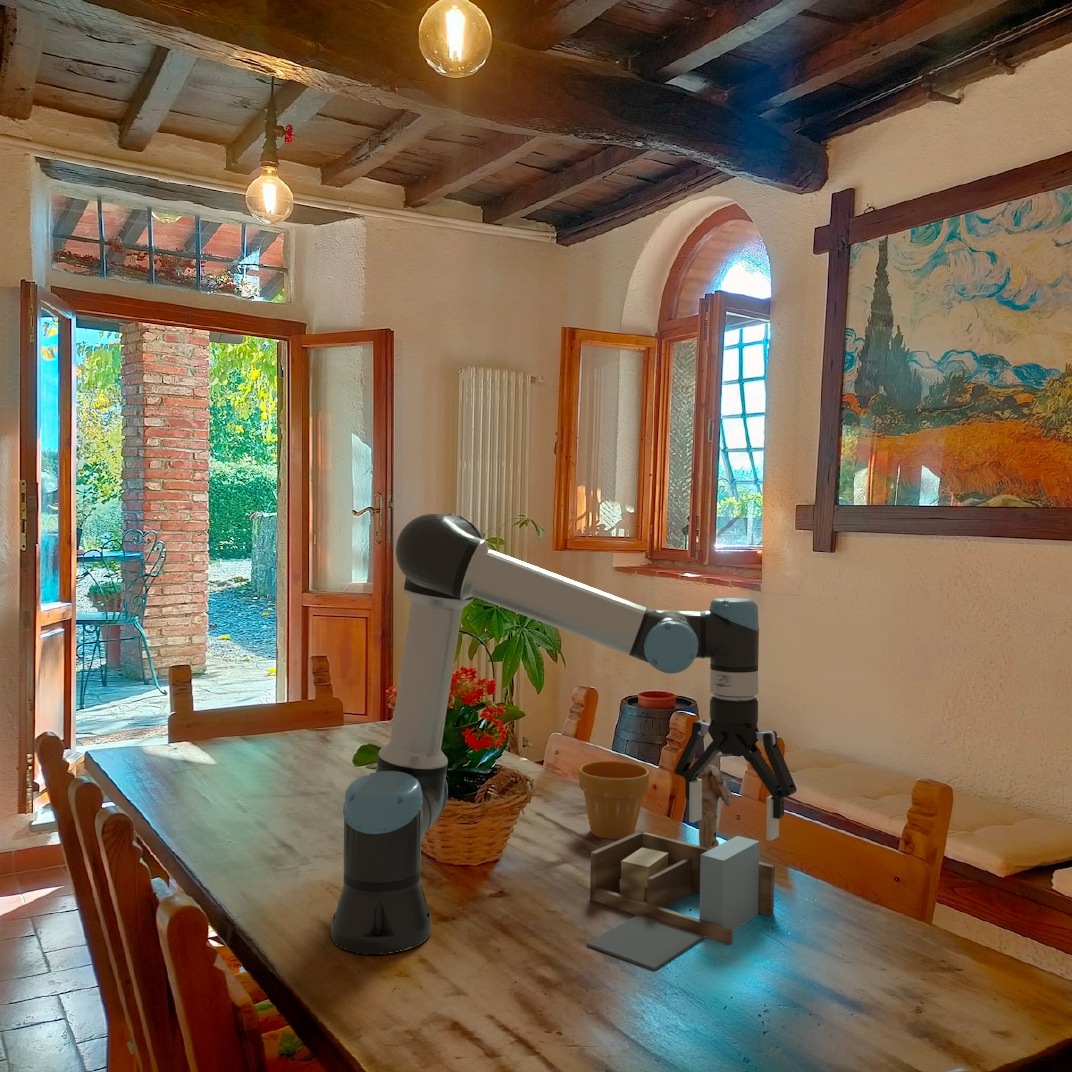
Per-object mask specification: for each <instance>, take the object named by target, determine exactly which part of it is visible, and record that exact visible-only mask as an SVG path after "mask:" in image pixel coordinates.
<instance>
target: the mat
mask: <svg viewBox="0 0 1072 1072" xmlns="http://www.w3.org/2000/svg"><path fill="white" fill-rule="evenodd" d="M704 939H705V937H704V936H703V935H700V934H697V933H694V932H691V931H688V930H685V929H682V928H679V927H676V926H672V925H669V924H666V923H663V922H660V921H657V920H654V919H651V918H648V917H645V916H642V915H639V914H638V915H636V914H635V916H633V917H631V918H629V919H628V920H625V921H624V922H622V923H620V924H618V925H617V926H615V927H613V928H611V929H609V930H608V931H606V932H604V933H602V934H600V935H599V936H596V937H595V938H593V939H591V940H589V941H587V942H586V947H588V948H591V947H594V948H596V949H595V950H597V949H598V950H597V951H600V952H602V951H603V952H602V953H605V954H608V955H611V956H613V955H614V957H616V958H619V959H621V960H624V961H627V962H630V963H632V964H636V965H639V966H641V967H644V968H646V969H649V970H652V971H656V970H658V969H659V968H661V967H663V966H664V965H666V964H667V963H668V962H670V961H672V960H673V959H675V958H677V957H678V956H679V955H681V954H682V953H684V952H685V951H687V950H689V949H691V948H692V947H693V946H695V945H696V944H698V943H699V942H700V941H702V940H704ZM594 948H593V949H594Z"/></svg>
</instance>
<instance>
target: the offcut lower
mask: <svg viewBox="0 0 1072 1072" xmlns="http://www.w3.org/2000/svg"><path fill="white" fill-rule="evenodd" d="M619 894H621V895H624V896H627V897H630V898H633V899H637V900H640V901H643V902H646V903H647V888H646V887H642V886H637V885H633V884H629V883H625V882H621V880H620V889H619Z"/></svg>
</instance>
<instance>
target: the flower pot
mask: <svg viewBox="0 0 1072 1072" xmlns="http://www.w3.org/2000/svg"><path fill="white" fill-rule="evenodd" d="M578 775H579V776H578V777H579V778H578V779H579V781H578V784H579V788H580V789H581V790H582V791H583V796H584V800H585V806H586V812H587V818H588V824H589V829H590V832H591V834H592V835H593V836H596V837H597V838H601V839H605V838H606V839H607V840H620V839H623V838H625V837H627V836H629V835H632V834H634V833H636V828H637V823H638V819H639V816H640V811H641V807H642V802H643V798H644V795H645V794H646V793H648V791H649V785H650V770H649V769H648V768H647V767H645V766H643V765H641V764H638V763H633V762H628V761H619V760H601V761H600V760H599V761H598V760H597V761H592V762H587V763H585V764H582V765H581V766H580V767H579V769H578ZM606 839H605V840H606Z"/></svg>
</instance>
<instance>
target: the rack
mask: <svg viewBox="0 0 1072 1072" xmlns="http://www.w3.org/2000/svg"><path fill="white" fill-rule="evenodd" d="M640 848H647V849H652V850H656V851H661V852H666V853H668V868H666V869H664V870H662V871H661V872H659V873H657V874H655V875H653V876H651V877H649V878H647V903H646V902H643V901H640V900H637V899H633V898H630V897H627V896H624V895H621V894H620V893H618V892H616V891H619V890H620V880H621V861H622V860H624V859H625V858H627V857H628V856H630V855H631V854H633V853H634V852H636V851H637V850H639V849H640ZM709 850H711V849H709V848H705V847H701V846H699V845H696V844H693V843H688V842H685V841H681V840H677V839H673V838H669V837H666V836H662V835H659V834H654V833H650V832H646V831H643V830H639V831H637V832H636V831H635V832H634V834H632V835H629V836H627V837H625V838H623V839H617V840H616V841H613V842H610V843H609V844H606V845H605V846H602V847H600V848H597V849H595V850H593V851H591V852H590V879H589V882H590V883H589V886H590V887H589V888H590V889H589V897H590V898H589V899H590V901H593V902H597V903H600V904H603V905H606V906H609V907H611V908H615V909H618V910H621V911H624V912H627V913H630V914H633V915H635V916H636V915H638V914H639V915H642V916H645V917H648V918H651V919H654V920H657V921H660V922H663V923H666V924H669V925H672V926H676V927H679V928H682V929H685V930H688V931H691V932H694V933H697V934H700V935H703V936H704V938H706V939H710V940H714V941H715V942H718V943H722V944H725V945H728V946H730V945H732V944H733V932H734V931H733V930H732V929H729V928H725V927H722V926H719V925H716V924H713V923H710V922H706V921H703V920H700V919H699V918H697V917H694V916H690V915H687V914H683V913H681V912H678V911H675V910H670V909H668V907H670V906H672V905H674V904H675V903H677V902H679V901H680V900H682V899H684V898H686V897H687V896H689V895H691V894H695V895H698V896H700V862H701V854H703V853H705V852H707V851H709ZM775 868H776V867H775V865H773V864H770V863H765V862H763V861H762V862H761V861H759V894H758V914H762V915H764V916H768V917H772V916H773V915H774V913H775V908H774V907H775Z"/></svg>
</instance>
